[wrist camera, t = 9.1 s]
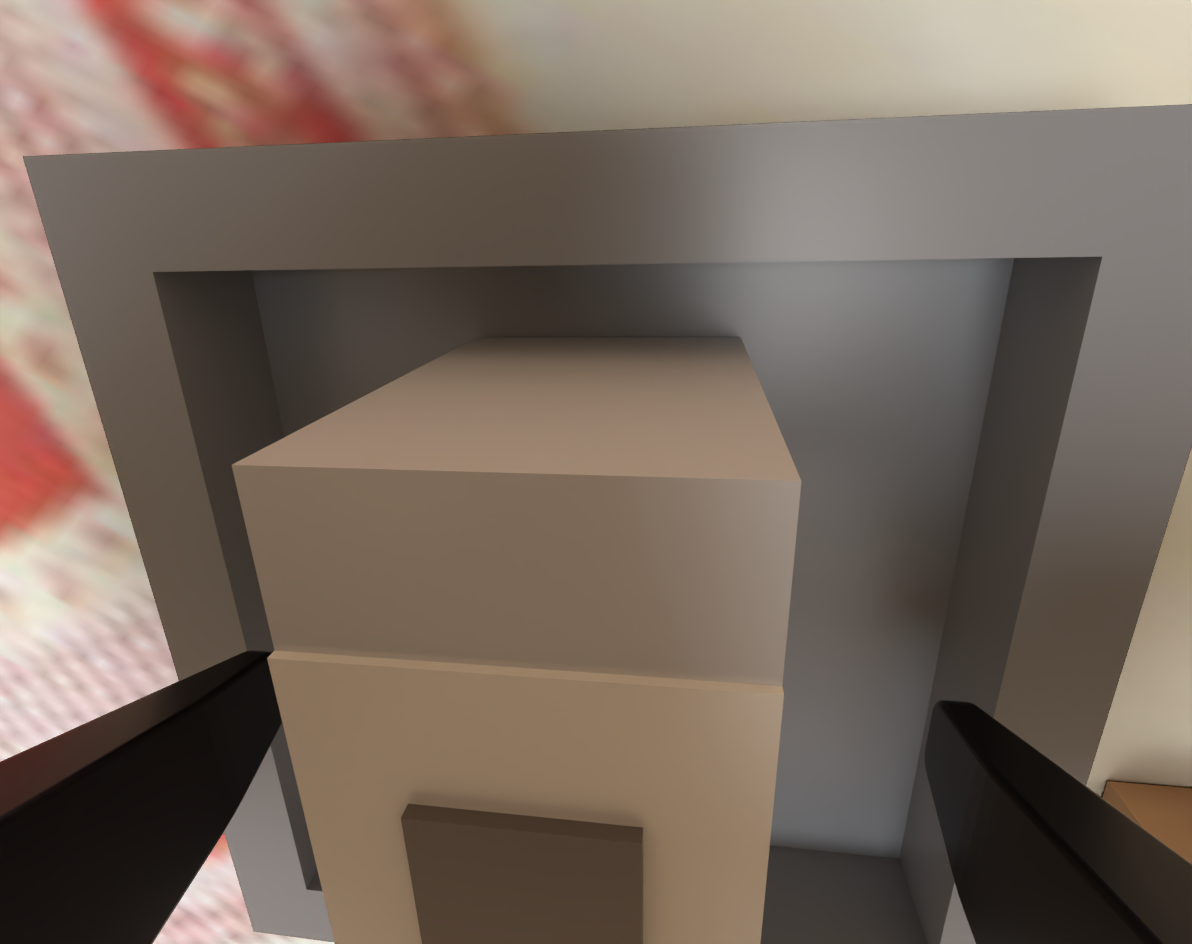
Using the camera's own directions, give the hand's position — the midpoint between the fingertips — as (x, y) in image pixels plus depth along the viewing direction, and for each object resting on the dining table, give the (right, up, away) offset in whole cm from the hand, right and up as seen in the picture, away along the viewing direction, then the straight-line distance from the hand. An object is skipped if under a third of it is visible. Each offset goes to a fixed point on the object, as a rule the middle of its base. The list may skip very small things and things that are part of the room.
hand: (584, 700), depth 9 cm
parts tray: (+1, +1, +4) cm, 4 cm away
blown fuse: (0, +1, +3) cm, 3 cm away
